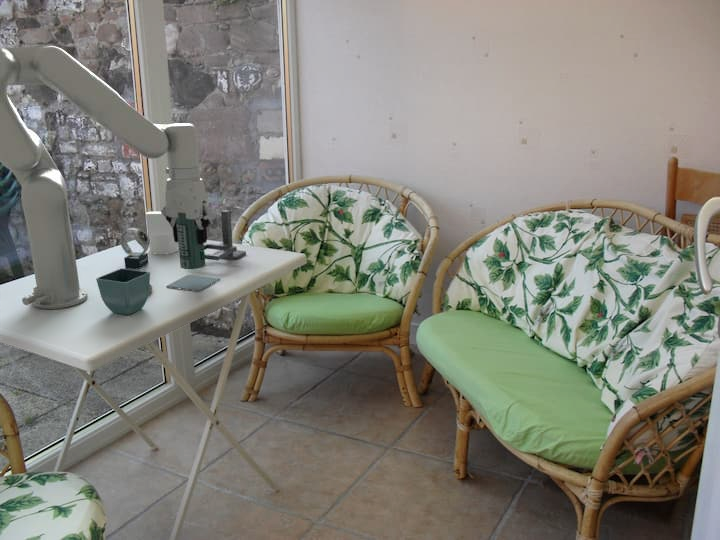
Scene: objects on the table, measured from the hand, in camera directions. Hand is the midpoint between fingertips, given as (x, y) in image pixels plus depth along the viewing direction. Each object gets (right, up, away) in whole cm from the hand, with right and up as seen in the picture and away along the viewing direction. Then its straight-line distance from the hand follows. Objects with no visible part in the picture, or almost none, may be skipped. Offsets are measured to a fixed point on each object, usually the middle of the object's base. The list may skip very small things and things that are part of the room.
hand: (190, 241), depth 172 cm
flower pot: (-11, -17, -15) cm, 25 cm away
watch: (-20, -6, +18) cm, 28 cm away
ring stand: (+3, -5, +22) cm, 23 cm away
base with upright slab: (-17, -1, +33) cm, 37 cm away
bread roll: (-14, -14, -3) cm, 19 cm away
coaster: (0, -11, +4) cm, 12 cm away
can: (0, -6, +2) cm, 7 cm away
